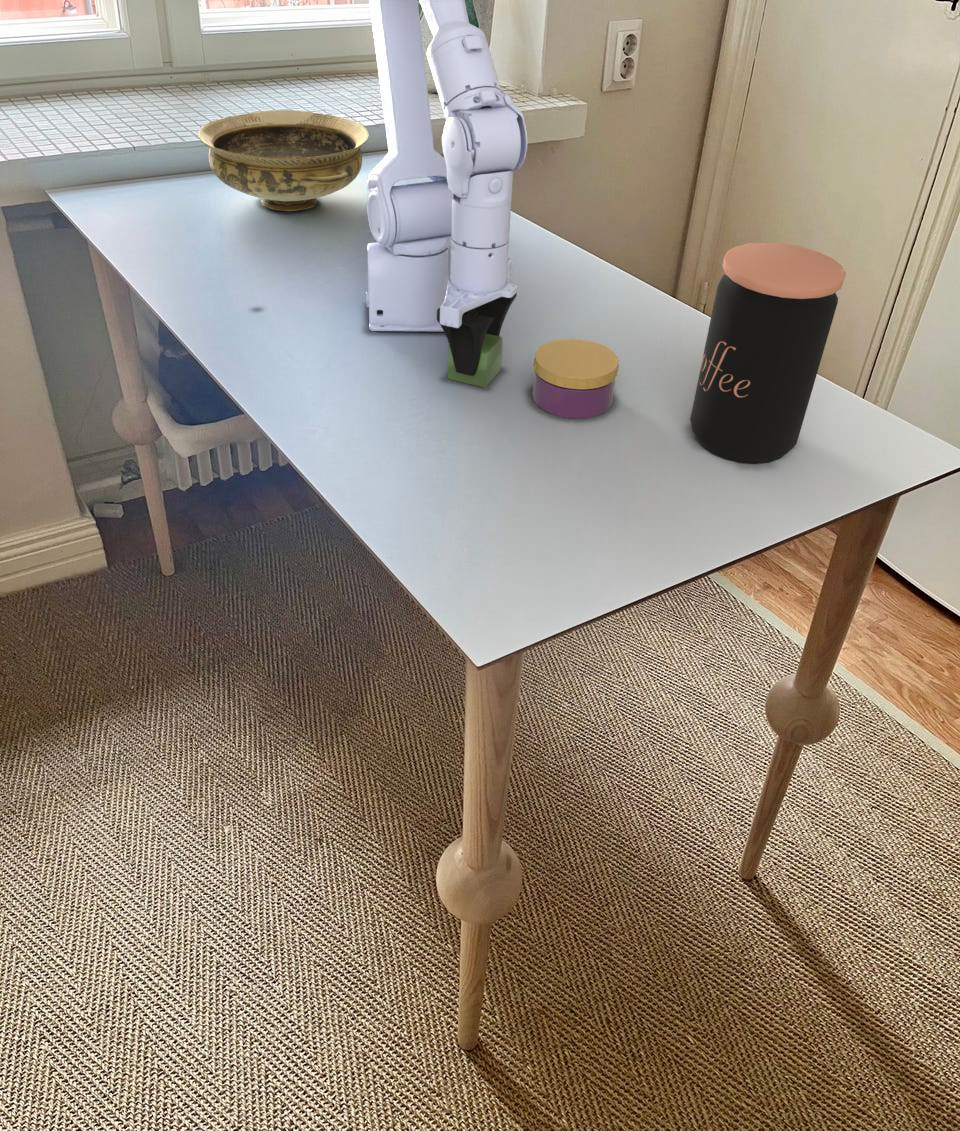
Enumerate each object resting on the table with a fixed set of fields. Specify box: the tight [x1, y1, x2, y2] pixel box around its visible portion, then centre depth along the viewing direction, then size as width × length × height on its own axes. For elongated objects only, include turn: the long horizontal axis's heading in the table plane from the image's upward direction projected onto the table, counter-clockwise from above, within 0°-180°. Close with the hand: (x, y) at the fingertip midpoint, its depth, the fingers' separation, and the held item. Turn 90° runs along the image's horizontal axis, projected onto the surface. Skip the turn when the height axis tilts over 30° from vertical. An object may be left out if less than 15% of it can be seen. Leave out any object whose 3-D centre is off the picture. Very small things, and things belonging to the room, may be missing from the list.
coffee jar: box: [689, 241, 847, 465], centre depth 92 cm, size 11×11×18 cm
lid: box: [532, 338, 620, 389], centre depth 100 cm, size 9×9×1 cm
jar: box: [531, 370, 616, 420], centre depth 101 cm, size 8×8×4 cm
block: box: [447, 334, 503, 389], centre depth 104 cm, size 4×4×4 cm
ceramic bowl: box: [197, 109, 370, 212], centre depth 141 cm, size 30×24×10 cm
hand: (474, 363), depth 105 cm, fingers closed on block, 4 cm apart
